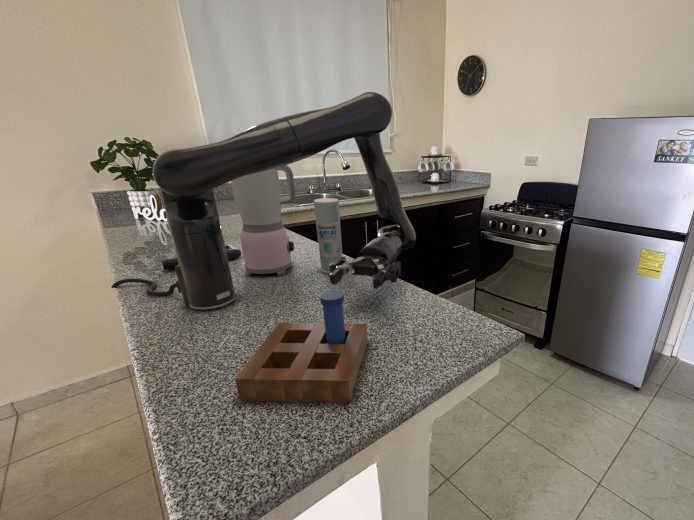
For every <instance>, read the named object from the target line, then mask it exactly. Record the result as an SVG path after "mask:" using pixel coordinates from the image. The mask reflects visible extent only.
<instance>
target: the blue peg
mask: <svg viewBox="0 0 694 520" xmlns="http://www.w3.org/2000/svg"><path fill="white" fill-rule="evenodd" d="M319 301H320V305H321V306H322V311H323V320H324V321H323V323H325V332H326V342H327V344H345V342H346V340H345V328H344V324H345V316H344V305H343V303H344V302H345V295H344V292H343V291H341V290H333V289H332V290H326V291H323V292H322V293H320V295H319Z"/></svg>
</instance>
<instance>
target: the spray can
mask: <svg viewBox="0 0 694 520" xmlns="http://www.w3.org/2000/svg"><path fill="white" fill-rule="evenodd" d="M313 208H314V216H315V217H314V218H315V225H316V226H315V227H316V234H317V243H318V251H319V253H318V254H319V262H320V269H321V272H322V273H324V274H330V267H329V265H330V264H331V263H333V262H334V261H336V260H337V259H339V258H340V257H344V256H343V243H342V242H343V241H342V228H341V215H340V214H341V213H340V200H339V199H338V198H335V197H334V198H333V197H331V198H330V197H322V198H316V199H314V200H313Z"/></svg>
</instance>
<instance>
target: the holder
mask: <svg viewBox="0 0 694 520" xmlns="http://www.w3.org/2000/svg"><path fill="white" fill-rule="evenodd" d="M344 328H345V340H346V342H345V344H327V342H326V332H325V322H278V323H277V325H276V326H275V327H274V329H272V331H271V333H270V334H269V335H268V336H267V337H266V339H265V340H264V341H263V342H262V344H261V345H260V346H259V348H258V349H257V350H256V351H255V352H254V354H253V355H252V356H251V357H250V359H249V360H248V361H247V363H246V364H245V365H244V367H243V368H242V369H241V370H240V372H239V373H238V374H237V376H236V377H235V378H234V381H235V386H236V389H237V394H238V399H239V402H287V403H289V402H293V403H298V402H299V403H303V402H304V403H352V399H353V394H354V391H355V388H356V384H357V380H358V376H359V374H360V370H361V367H362V364H363V359H364V356H365V352H366V349H367V345H368V326H367V323H344Z"/></svg>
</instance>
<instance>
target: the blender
mask: <svg viewBox="0 0 694 520" xmlns="http://www.w3.org/2000/svg"><path fill="white" fill-rule="evenodd" d="M278 171H282V172H283V173H285V176H286V184H287V193H288V196H286V197H282V192H281V184H280V177H279V172H278ZM230 183H231V188H232V193H233V199H234V202H235V204H236V207H237V210H238V213H239V216H240V218H241V222H242V230H241V232H240V245H241V252H242V255H243V261H244V269H245V272H246V275H247V276H252V274H257V275H265V274H266V275H267V274H274V273H276V276H283V275H285V274H286V270H287V269H289V268H291V267H292V265H293V260H292V254H291V252H294V251H295V244H294V241H291V240H290V238H289V237H290V236H289V233H288V232H287V230H286V227H285V226H284V224H283V222H282V205H287V204H292V203H293V202H295V200H296V188H295V180H294V174H293V170H292V168H291V167H290V166H289V165H285V166H281V167H278V168H274V169H271V170H267V171H263V172H259V173H254V174H250V175H246V176H243V177H240V178H237V179H235V180H232V181H230Z"/></svg>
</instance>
